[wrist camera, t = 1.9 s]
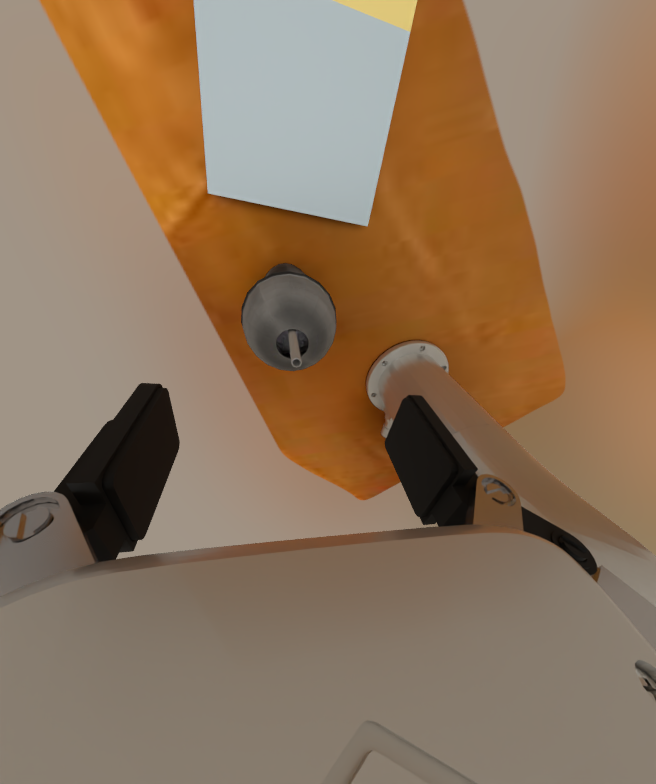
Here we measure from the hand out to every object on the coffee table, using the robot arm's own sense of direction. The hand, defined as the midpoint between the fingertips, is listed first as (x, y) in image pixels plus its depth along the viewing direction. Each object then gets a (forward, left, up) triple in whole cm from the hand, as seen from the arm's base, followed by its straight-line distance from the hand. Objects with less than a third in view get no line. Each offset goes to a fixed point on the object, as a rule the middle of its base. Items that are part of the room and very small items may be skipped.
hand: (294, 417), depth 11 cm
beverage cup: (0, 0, -23) cm, 23 cm away
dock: (+14, 0, -23) cm, 27 cm away
